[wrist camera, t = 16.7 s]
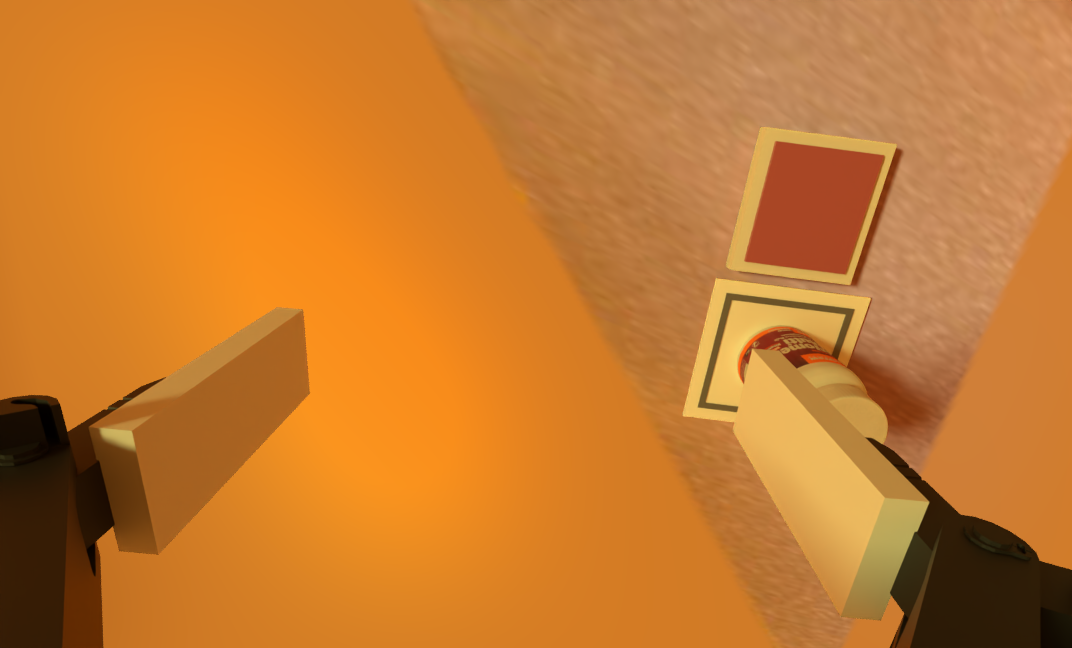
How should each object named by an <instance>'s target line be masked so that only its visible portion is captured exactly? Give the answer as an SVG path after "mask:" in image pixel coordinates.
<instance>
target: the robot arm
mask: <svg viewBox="0 0 1072 648" xmlns="http://www.w3.org/2000/svg"><path fill="white" fill-rule="evenodd" d="M309 393H310V392H309V379H308V366H307V353H306V342H305V328H304V316H303V310H302V309H290V308H279V307H277V308H275V309H274V310H272V311H270V312H269V313H267V314H266V315H264V316H263V317H261V318H259V319H258V320H256V321H255V322H253V323H252V324H250V325H248V326H247V327H245V328H244V329H242V330H240V331H239V332H237V333H236V334H234V335H233V336H231V337H230V338H228V339H227V340H225V341H223V342H222V343H220V344H218V345H217V346H215V347H214V348H212V349H211V350H209V351H208V352H206V353H204V354H203V355H201V356H200V357H198V358H196V359H195V360H193V361H192V362H190V363H189V364H187V365H185V366H184V367H182V368H181V369H179V370H177V371H176V372H174V373H173V374H171V375H170V376H168V377H165V378H163V379H160V380H157V381H154V382H152V383H149V384H146V385H144V386H141V387H140V388H138V389H136V390H135V391H133V392H132V393H130V394H129V395H127V396H125V397H123V400H119V401H117V402H115V403H114V404H112V405H110V406H109V407H108V409H107V410H102V411H101V412H99V413H98V414H96V415H94V416H93V417H91V418H89V419H88V420H86V421H85V422H83V423H81V424H80V425H78V426H77V427H75V428H73V429H72V430H70V431H68V432H67V429H66V425H65V421H64V418H63V414H62V410H61V406H60V404H59V402H58V400H57V399H56V398H53V397H50V396H42V395H29V396H20V397H12V398H8V399H4V400H0V648H103V625H102V598H101V597H102V596H101V570H100V569H101V567H100V554H99V550H98V547H97V543H96V541H97V540H98V539H99V538H100V537H101V536H102V535H104V534H105V533H106V532H107V531H108V530H109V529H110V528H111V527H113V528H114V532H115V536H116V540H117V544H118V548H119V551H124V552H136V553H146V554H157V555H158V554H159V553H160V552H161V551H162V550H163V549H164V548H165V547H166V546H167V545H168V544H169V543H170V542H171V541H172V540H173V539H174V538H175V537H176V535H177V534H178V533H179V532H180V531H181V530H182V529H183V528H184V527H185V526H186V525H187V524H188V523H189V522H190V521H191V519H192V518H193V517H194V516H195V515H196V514H197V513H198V512H199V511H200V510H201V509H202V508H203V507H204V506H205V504H206V503H207V502H208V501H209V500H210V499H211V498H212V497H213V496H214V495H215V494H216V493H217V491H219V490H220V488H221V487H222V486H223V485H224V484H225V483H226V482H227V481H228V480H229V479H230V478H231V477H232V476H233V475H234V473H236V471H237V470H238V469H239V468H240V467H241V466H242V465H243V464H244V463H245V462H246V461H247V460H248V459H249V458H250V457H251V455H252V454H253V453H254V452H255V451H256V450H257V449H258V448H259V447H260V446H261V445H262V444H263V443H264V442H265V440H267V438H268V437H269V436H270V435H271V434H272V433H273V432H274V431H275V430H276V429H277V428H278V427H279V426H280V425H281V424H282V422H283V421H284V420H285V419H286V418H287V417H288V416H289V415H290V414H291V413H292V412H293V411H294V410H295V409H296V408H297V406H298V405H299V404H300V403H301V402H302V401H303V400H304V399H305V398H306V397H307V396H308V395H309ZM733 432H734V434H735V436H736V437H737V439H738V441H739V443H740V444H741V446H742V448H743V449H744V451H745V453H746V455H747V456H748V458H749V460H750V462H751V463H752V465H753V467H754V468H755V470H756V472H757V474H758V475H759V477H760V479H761V480H762V482H763V484H764V486H765V487H766V489H767V491H768V493H769V494H770V496H771V498H772V499H773V501H774V503H775V505H776V506H777V508H778V510H779V511H780V513H781V515H782V517H783V518H784V520H785V522H786V524H787V525H788V527H789V529H790V530H791V532H792V534H793V536H794V537H795V539H796V541H797V542H798V544H799V546H800V548H801V549H802V551H803V553H804V555H805V556H806V558H807V560H808V561H809V563H810V565H811V567H812V568H813V570H814V572H815V573H816V575H817V577H818V579H819V580H820V582H821V584H822V586H823V587H824V589H825V591H826V592H827V594H828V596H829V598H830V599H831V601H832V603H833V604H834V606H835V608H836V610H837V611H838V613H839V615H840V617H849V618H860V619H872V620H881V619H882V617H883V614H884V612H885V609H886V607H887V604H888V602H889V599H890V597H891V595H892V597H893V598H894V600H895V601H896V602H897V604H898V605H899V607H900V608H901V609H902V611H903V612H904V616H903V618H902V621H901V623H900V626H899V628H898V630H897V632H896V634H895V637H894V639H893V642H892V644H891V646H890V648H1072V570H1070V569H1066V568H1063V567H1059V566H1055V565H1052V564H1049V563H1045V562H1042V561H1039V558H1038V556H1037V554H1036V552H1035V551H1034V550H1033V549H1032V548H1031V547H1030V546H1029V545H1028V544H1027V543H1026V542H1025V541H1023V540H1022V539H1020V538H1019V537H1017V536H1016V535H1014V534H1013V533H1012V532H1010V531H1008V530H1006V529H1004V528H1002V527H1000V526H998V525H995V524H994V523H991V522H988V521H985V520H982V519H979V518H976V517H972V516H965V515H960V514H959V513H958V512H957V511H956V510H955V509H954V508H953V507H952V506H951V505H950V504H949V503H948V502H947V501H945V500H944V499H943V498H942V497H941V496H940V495H939V494H938V493H937V492H936V491H935V490H934V489H933V488H932V487H931V486H930V485H929V484H928V483H926V481H924V480H921V477H920V476H919V475H918V474H917V473H916V472H915V471H914V470H913V469H912V468H909V465H908V464H907V463H906V462H905V461H904V460H903V459H902V458H901V457H900V456H898V455H897V454H896V453H895V452H894V451H893V450H891V449H890V448H888V447H886V446H885V445H883V444H881V443H880V442H878V441H876V440H875V439H873V438H868V437H864V436H863V435H862V434H861V433H860V432H859V431H858V430H857V429H856V428H855V427H854V426H853V425H852V424H851V423H850V422H849V421H848V420H847V419H846V418H845V417H844V416H843V415H842V414H841V413H840V412H839V411H838V410H837V409H836V408H835V407H834V406H833V405H832V404H831V403H830V402H829V401H828V400H827V399H826V398H825V397H824V396H823V395H822V394H821V393H820V392H819V391H818V390H817V389H816V388H815V387H814V386H813V385H812V384H811V383H810V382H809V381H808V380H807V379H806V378H805V377H804V376H803V375H802V374H801V373H800V372H799V371H798V370H797V369H796V368H795V367H794V366H793V365H792V364H791V363H790V362H789V361H788V360H787V359H786V358H785V357H784V356H783V355H782V354H781V353H780V352H779V351H775V350H763V349H752V352H751V356H750V360H749V364H748V369H747V373H746V377H745V381H744V385H743V390H742V394H741V398H740V402H739V406H738V410H737V415H736V419H735V423H734V427H733Z"/></svg>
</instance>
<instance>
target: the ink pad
mask: <svg viewBox="0 0 1072 648" xmlns="http://www.w3.org/2000/svg"><path fill="white" fill-rule="evenodd" d="M896 146H897V144H891V143H884V142H876V141H868V140H861V139H853V138H846V137H838V136H830V135H823V134H815V133H807V132H800V131H792V130H785V129H777V128H769V127H760V130H759V134H758V138H757V142H756V146H755V150H754V154H753V158H752V162H751V166H750V170H749V174H748V178H747V182H746V186H745V190H744V194H743V198H742V202H741V206H740V210H739V214H738V218H737V222H736V226H735V231H734V235H733V239H732V243H731V247H730V251H729V255H728V259H727V263H726V267H727V268H729V269H730V270H735V271H743V272H751V273H759V274H767V275H774V276H782V277H790V278H798V279H806V280H813V281H821V282H829V283H837V284H845V285H850V284H851V281H852V278H853V275H854V272H855V269H856V266H857V263H858V260H859V257H860V254H861V251H862V248H863V245H864V242H865V239H866V236H867V233H868V230H869V227H870V224H871V221H872V218H873V215H874V212H875V209H876V206H877V203H878V200H879V197H880V194H881V191H882V188H883V185H884V182H885V179H886V176H887V173H888V170H889V167H890V164H891V161H892V158H893V155H894V152H895V149H896Z"/></svg>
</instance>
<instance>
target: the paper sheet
mask: <svg viewBox="0 0 1072 648" xmlns="http://www.w3.org/2000/svg"><path fill="white" fill-rule="evenodd" d="M870 300H871V298H869V297H861V296H853V295H846V294H838V293H830V292H822V291H814V290H806V289H799V288H791V287H783V286H775V285H767V284H759V283H752V282H744V281H736V280H728V279H720V278H716V280H715V284H714V288H713V293H712V297H711V301H710V305H709V309H708V313H707V317H706V321H705V325H704V329H703V333H702V337H701V342H700V346H699V350H698V354H697V358H696V362H695V366H694V370H693V374H692V378H691V382H690V387H689V391H688V395H687V399H686V403H685V407H684V411H683V416H688V417H696V418H704V419H712V420H720V421H728V422H735V419H736V415H737V410H738V406H739V402H740V398H741V394H742V390H743V385H744V384H743V383H742V381H741V380H740V378H739V375H738V372H737V358H738V354H739V352H740V349H741V348H742V346H743V344H744V343H745V342H746V340H747V339H748V338H749V337H750V336H752V335H753V334H755V333H756V332H758V331H760V330H762V329H764V328H767V327H770V326H777V325H784V326H790V327H794V328H796V329H798V330H800V331H802V332H804V333H805V334H806V335H808V336H809V337H810V338H811V339H813V340H814V341H815V342H816V343H817V344H819V345H820V346H821V347H822V348H823V349H825V350H826V351H827V352H829V353H830V354H831V355H833V356H834V357H835V358H836V359H837V360H839V361H840V362H841V363H842V364H843V365H845V366H846V367H847V366H848V363H849V360H850V357H851V354H852V351H853V349H854V346H855V343H856V340H857V337H858V334H859V332H860V329H861V326H862V323H863V320H864V317H865V314H866V312H867V309H868V306H869V303H870Z"/></svg>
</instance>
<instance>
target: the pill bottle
mask: <svg viewBox="0 0 1072 648" xmlns="http://www.w3.org/2000/svg"><path fill="white" fill-rule="evenodd" d="M752 349H763V350H775V351H779V352H780V353H781V354H782V355H783V356H784V357H785V358H786V359H787V360H788V361H789V362H790V363H791V364H792V365H793V366H794V367H795V368H796V369H797V370H798V371H799V372H800V373H801V374H802V375H803V376H804V377H805V378H806V379H807V380H808V381H809V382H810V383H811V384H812V385H813V386H814V387H815V388H816V389H817V390H818V391H819V392H820V393H821V394H822V395H823V396H824V397H825V398H826V399H827V400H828V401H829V402H830V403H831V404H832V405H833V406H834V407H835V408H836V409H837V410H838V411H839V412H840V413H841V414H842V415H843V416H844V417H845V418H846V419H847V420H848V421H849V422H850V423H851V424H852V425H853V426H854V427H855V428H856V429H857V430H858V431H859V432H860V433H861V434H862V435H863V436H864V437H868V438H873V439H875V440H876V441H878V442H880V443H881V444H883V443H884V441H885V439H886V437H887V433H888V421H887V417H886V415H885V413H884V411H883V410H882V408H881V407H880V406H879V405H878V404H877V403H876V402H875V401H873V400H872V399H871V398H870V397H869V396H868V394H867V390H866V388H865V386H864V384H863V383H862V381H861V380H860V378H859V377H858V376H857V375H856V374H855V373H854V372H853V371H851V370H850V369H849V368H847V367H846V366H845V365H843V364H842V363H841V362H840V361H839V360H837V359H836V358H835V357H834V356H833V355H831V354H830V353H829V352H827V351H826V350H825V349H823V348H822V347H821V346H820V345H819V344H817V343H816V342H815V341H814V340H813V339H811V338H810V337H809V336H808V335H806V334H805V333H804V332H802V331H800V330H798V329H796V328H794V327H790V326H784V325H777V326H770V327H767V328H764V329H762V330H760V331H758V332H756V333H755V334H753V335H752V336H750V337H749V338H748V339H747V340H746V342H745V343H744V344H743V346H742V348H741V349H740V352H739V354H738V358H737V372H738V375H739V378H740V380H741V381H742V383H743V384H744V381H745V377H746V373H747V369H748V364H749V360H750V356H751V352H752Z"/></svg>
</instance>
